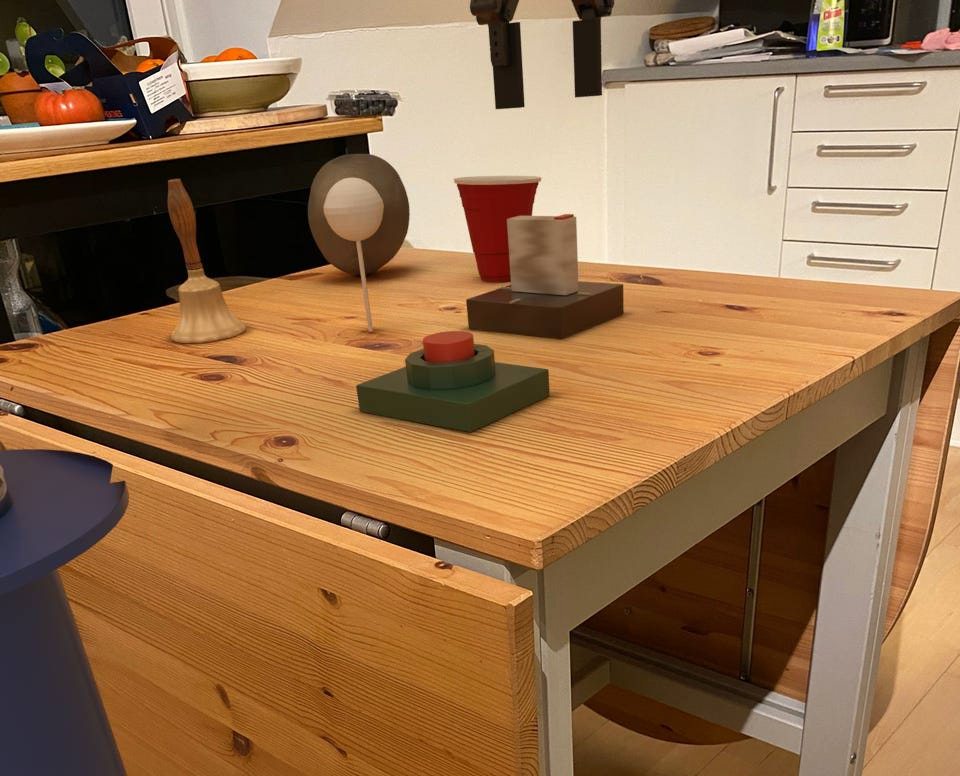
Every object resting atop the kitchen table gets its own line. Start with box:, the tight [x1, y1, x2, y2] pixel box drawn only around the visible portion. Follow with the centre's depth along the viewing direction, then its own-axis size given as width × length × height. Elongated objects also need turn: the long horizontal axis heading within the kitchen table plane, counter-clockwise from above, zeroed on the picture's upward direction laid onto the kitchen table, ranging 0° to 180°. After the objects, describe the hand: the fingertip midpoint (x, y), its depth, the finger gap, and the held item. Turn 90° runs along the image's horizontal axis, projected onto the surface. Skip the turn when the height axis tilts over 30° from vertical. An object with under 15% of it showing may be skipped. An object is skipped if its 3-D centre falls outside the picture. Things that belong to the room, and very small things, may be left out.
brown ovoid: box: [307, 153, 411, 276], centre depth 131 cm, size 14×14×15 cm
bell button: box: [422, 330, 475, 363], centre depth 78 cm, size 4×4×2 cm
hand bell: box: [167, 178, 247, 344], centre depth 107 cm, size 8×8×16 cm
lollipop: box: [324, 178, 384, 333], centre depth 101 cm, size 6×6×15 cm
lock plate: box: [465, 280, 625, 340], centre depth 101 cm, size 12×11×3 cm
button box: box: [355, 343, 551, 433], centre depth 79 cm, size 12×10×4 cm
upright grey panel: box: [507, 213, 579, 295], centre depth 99 cm, size 7×2×7 cm, turn 50°
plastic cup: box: [453, 175, 543, 283], centre depth 122 cm, size 11×11×12 cm
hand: (551, 102), depth 93 cm, fingers open, 13 cm apart
